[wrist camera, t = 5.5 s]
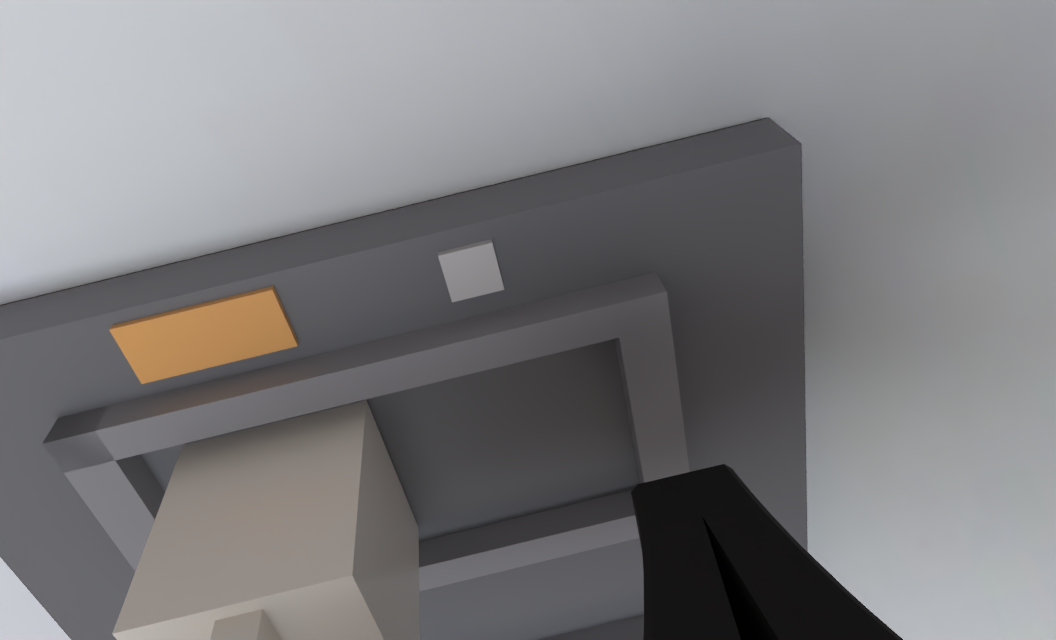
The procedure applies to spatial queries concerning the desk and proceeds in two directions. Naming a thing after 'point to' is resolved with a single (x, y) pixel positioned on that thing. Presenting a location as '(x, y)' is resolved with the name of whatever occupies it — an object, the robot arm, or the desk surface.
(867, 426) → the desk surface
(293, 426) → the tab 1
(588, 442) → the switch bank
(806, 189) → the desk surface
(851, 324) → the desk surface
